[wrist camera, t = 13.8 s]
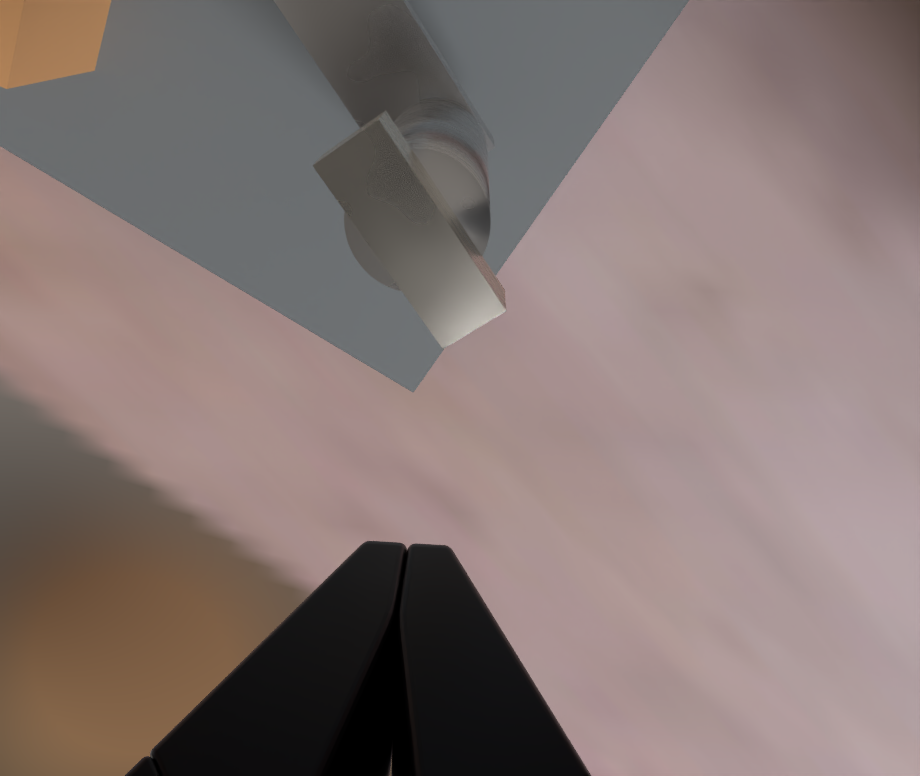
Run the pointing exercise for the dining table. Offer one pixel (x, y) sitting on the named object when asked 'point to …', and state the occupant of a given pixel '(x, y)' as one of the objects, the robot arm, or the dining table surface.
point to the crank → (406, 160)
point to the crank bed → (298, 134)
